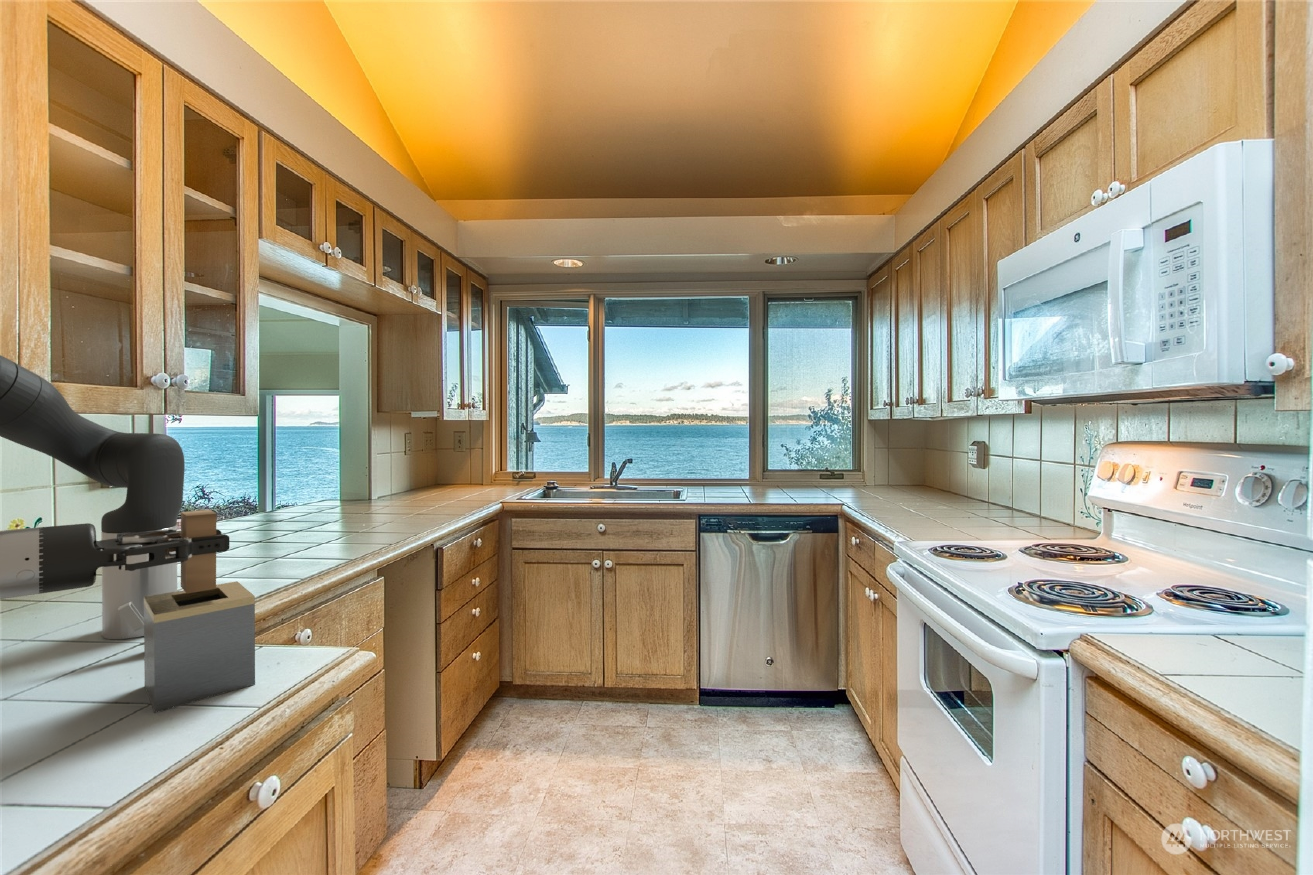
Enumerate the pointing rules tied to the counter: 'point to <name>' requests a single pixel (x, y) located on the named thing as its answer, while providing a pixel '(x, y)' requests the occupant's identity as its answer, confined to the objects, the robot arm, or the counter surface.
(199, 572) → the wooden block
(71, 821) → the counter surface
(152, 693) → the coin box
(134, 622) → the lighter
